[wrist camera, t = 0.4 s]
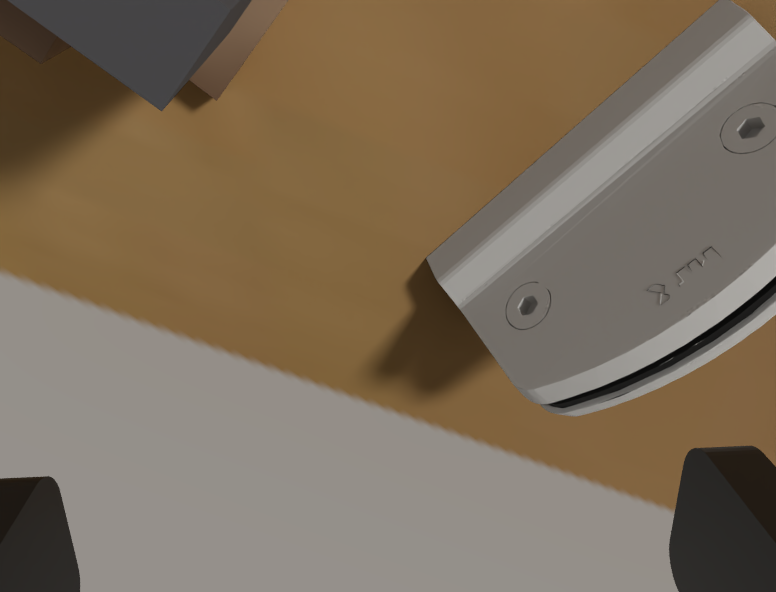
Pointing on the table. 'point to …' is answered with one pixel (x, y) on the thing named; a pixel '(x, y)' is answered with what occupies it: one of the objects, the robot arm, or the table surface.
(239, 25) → the pipe stand
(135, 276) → the table surface
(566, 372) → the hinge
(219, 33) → the collar
